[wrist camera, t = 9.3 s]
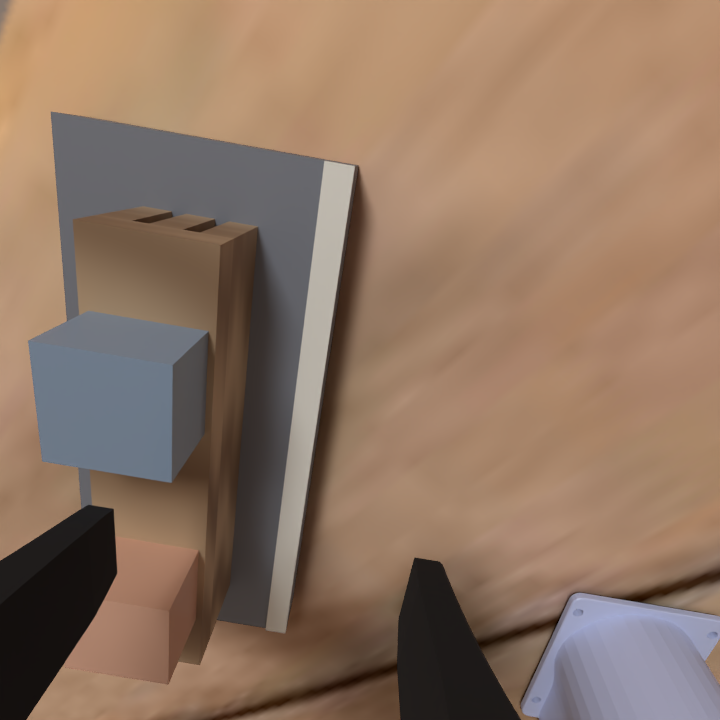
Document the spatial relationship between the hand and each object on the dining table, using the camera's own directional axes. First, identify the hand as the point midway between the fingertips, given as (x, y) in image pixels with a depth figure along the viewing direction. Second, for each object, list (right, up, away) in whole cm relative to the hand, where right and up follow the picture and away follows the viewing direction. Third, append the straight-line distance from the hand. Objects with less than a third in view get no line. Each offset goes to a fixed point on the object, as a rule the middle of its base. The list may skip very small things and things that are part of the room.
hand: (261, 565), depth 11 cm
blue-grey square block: (-4, +4, +3) cm, 7 cm away
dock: (-4, +3, +10) cm, 12 cm away
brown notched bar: (-4, +2, +8) cm, 10 cm away
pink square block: (-5, -3, +6) cm, 9 cm away
